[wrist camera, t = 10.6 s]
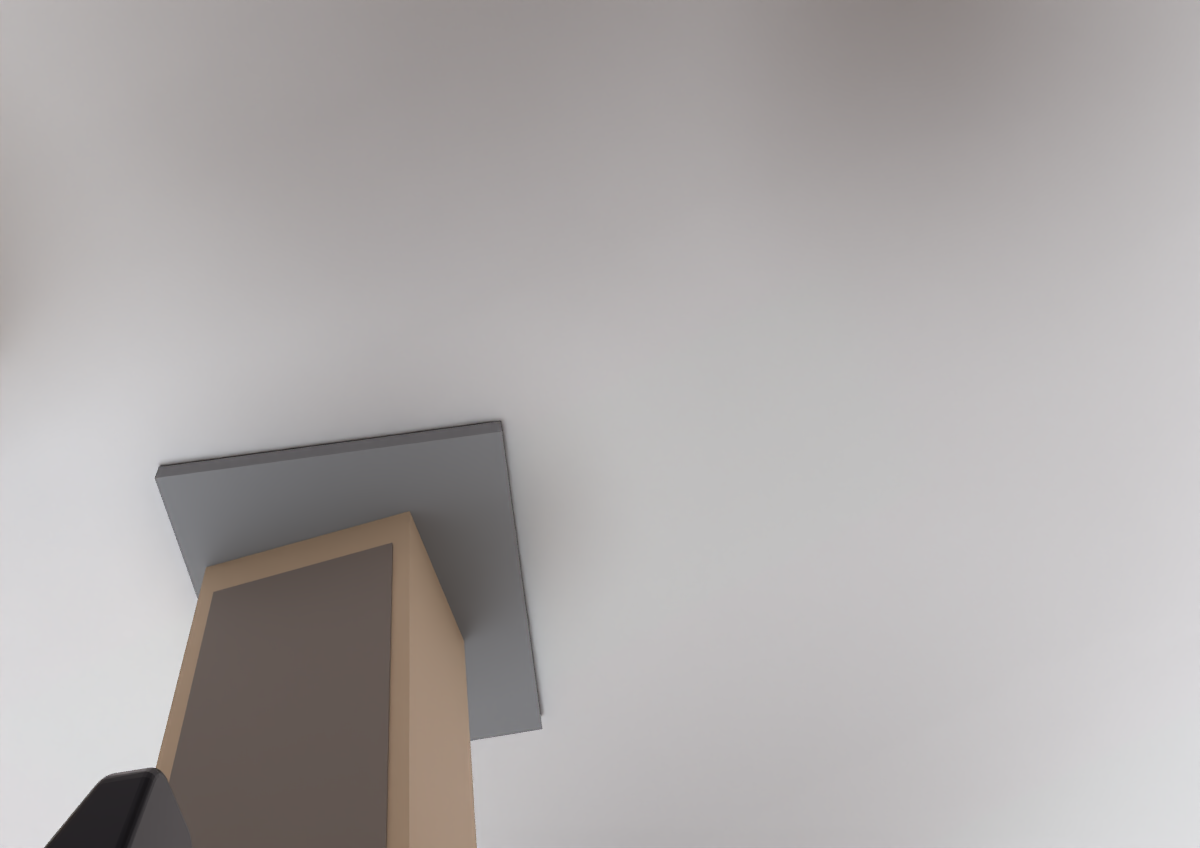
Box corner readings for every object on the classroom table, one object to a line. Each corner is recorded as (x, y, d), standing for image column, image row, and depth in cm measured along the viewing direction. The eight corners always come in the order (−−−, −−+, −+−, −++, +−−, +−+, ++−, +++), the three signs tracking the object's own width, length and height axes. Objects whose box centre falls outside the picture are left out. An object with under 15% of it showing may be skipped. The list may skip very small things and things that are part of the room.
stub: (465, 641, 25) (502, 1241, 15) (277, 693, 25) (188, 1330, 15) (409, 508, 23) (410, 1109, 13) (203, 565, 23) (38, 1212, 13)
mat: (540, 716, 27) (542, 728, 27) (262, 761, 27) (260, 774, 26) (500, 421, 22) (501, 431, 22) (158, 466, 22) (154, 477, 21)
